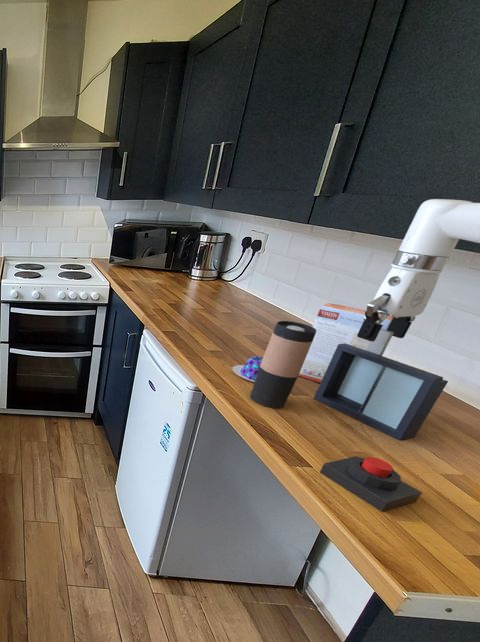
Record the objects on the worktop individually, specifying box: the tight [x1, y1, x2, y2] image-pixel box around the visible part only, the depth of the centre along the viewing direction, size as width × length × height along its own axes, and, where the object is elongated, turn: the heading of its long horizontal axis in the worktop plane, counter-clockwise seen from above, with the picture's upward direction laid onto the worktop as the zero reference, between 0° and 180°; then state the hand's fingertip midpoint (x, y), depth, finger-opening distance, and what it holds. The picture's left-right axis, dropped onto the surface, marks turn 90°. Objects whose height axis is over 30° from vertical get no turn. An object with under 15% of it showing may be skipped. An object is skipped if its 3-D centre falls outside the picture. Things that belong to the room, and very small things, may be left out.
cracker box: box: [298, 302, 397, 384], centre depth 107 cm, size 14×6×21 cm, turn 34°
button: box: [361, 456, 394, 478], centre depth 71 cm, size 4×4×2 cm
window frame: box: [313, 343, 449, 441], centre depth 92 cm, size 18×5×15 cm, turn 17°
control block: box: [319, 455, 423, 513], centre depth 72 cm, size 10×9×4 cm
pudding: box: [232, 355, 264, 383], centre depth 111 cm, size 12×12×5 cm
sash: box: [332, 329, 394, 408], centre depth 94 cm, size 7×1×19 cm, turn 17°
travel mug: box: [249, 320, 316, 409], centre depth 96 cm, size 8×8×20 cm
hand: (379, 337), depth 91 cm, fingers open, 9 cm apart
